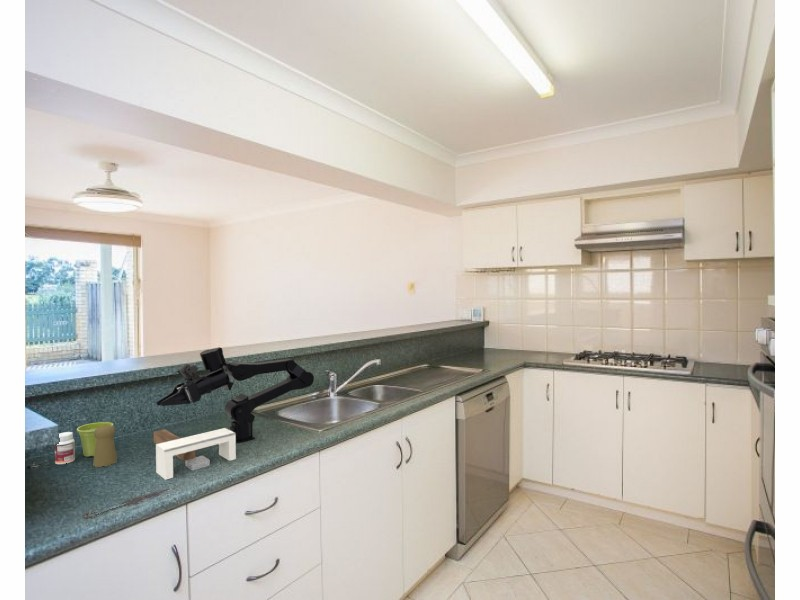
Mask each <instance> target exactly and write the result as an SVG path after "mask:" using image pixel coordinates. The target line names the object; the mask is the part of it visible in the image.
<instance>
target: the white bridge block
mask: <svg viewBox="0 0 800 600" xmlns="http://www.w3.org/2000/svg"><path fill="white" fill-rule="evenodd" d="M236 443H237V442H236V435H235V432H233V431H230V429H228V428H226V427H223V428H219V429H214V430H210V431H207V432H202V433H198V434H194V435H190V436H185V437H180V439H176V440H172V441H168V442H164V443H159V444H155V472H156V474H158V476H160V477H162V479H164V481H165V480H168V479H172V478H174V457H175V455H178V454H182V453H186V452H189V451H193V450H195V451H197V450H200V449H204V448H208V447H211V446H216V445H218V455H219V456H220V457H222V458H224V459H226V460H227V461H234V460H236V459H237V455H236V454H237V453H236V452H237V451H236V450H237V448H236Z"/></svg>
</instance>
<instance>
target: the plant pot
mask: <svg viewBox="0 0 800 600" xmlns="http://www.w3.org/2000/svg"><path fill="white" fill-rule="evenodd" d="M105 425H111V426H113V427H114V423H112V422H109V421H103V422H92V423H87V424H83V425H81V426H78V427H77V428H76V431H77V432H78V434H79V436H80V440H81V441H80V443H81V447H82V453H83V456H84V457H87V458H88V457H94V454H95V447H96V438H95V436H94V431H95V430H96V428H98V427H100V426H105Z"/></svg>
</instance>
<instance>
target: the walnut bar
mask: <svg viewBox="0 0 800 600" xmlns="http://www.w3.org/2000/svg"><path fill="white" fill-rule="evenodd" d="M180 438H181V437H180V436H178V435H176V434H174V433H172V432H170V431H168V430H167V429H165V428H164V429H160V430H156V431H155V430H154V431H153V443H154V444H155V443H156V444H159V443H164V442H168V441H172V440H176V439H180ZM156 444H155V445H156ZM176 456H177V458H179V459H180V460H181V461H183V462H185V460H188V459H192V458H195V457H197V456H196V450H193V451H189V452H186V453H182V454H178V455H174V457H176Z"/></svg>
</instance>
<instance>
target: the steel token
mask: <svg viewBox="0 0 800 600" xmlns="http://www.w3.org/2000/svg"><path fill="white" fill-rule="evenodd" d="M210 461H211V460H210V459H209V458H207V457H206V456H205V455H200V456H196V457H195V458H192V459H188V460H185V461H184V463H185V464H184V465H185V467H187V468H188V469H189V470H191V471H196V470H199V469H203V468H207V467H209V466H210Z"/></svg>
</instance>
